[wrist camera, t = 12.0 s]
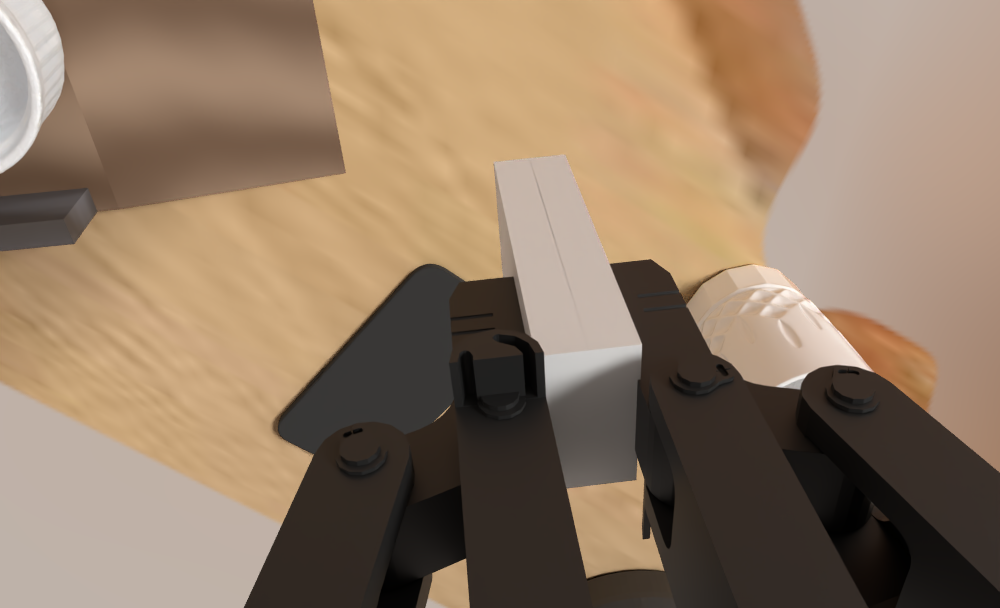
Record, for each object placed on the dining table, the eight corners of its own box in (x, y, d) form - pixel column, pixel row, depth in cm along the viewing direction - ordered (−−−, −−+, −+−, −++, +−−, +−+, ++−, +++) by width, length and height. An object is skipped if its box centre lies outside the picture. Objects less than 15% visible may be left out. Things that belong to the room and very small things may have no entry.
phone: (531, 328, 44) (372, 483, 49) (529, 319, 44) (372, 473, 50) (426, 258, 40) (268, 432, 46) (425, 250, 41) (270, 423, 47)
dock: (350, 163, 38) (342, 217, 34) (-117, 209, 38) (-190, 270, 33) (277, -227, 29) (253, -227, 25) (-342, -180, 28) (-487, -171, 24)
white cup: (651, 355, 46) (703, 482, 38) (704, 242, 42) (776, 357, 34) (768, 374, 48) (843, 500, 40) (831, 267, 44) (928, 383, 35)
